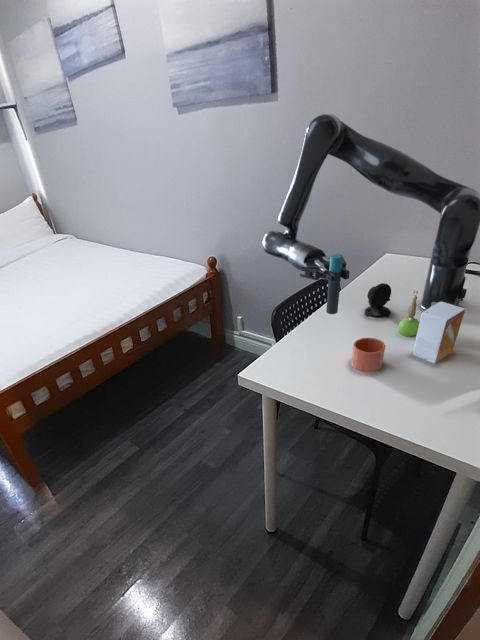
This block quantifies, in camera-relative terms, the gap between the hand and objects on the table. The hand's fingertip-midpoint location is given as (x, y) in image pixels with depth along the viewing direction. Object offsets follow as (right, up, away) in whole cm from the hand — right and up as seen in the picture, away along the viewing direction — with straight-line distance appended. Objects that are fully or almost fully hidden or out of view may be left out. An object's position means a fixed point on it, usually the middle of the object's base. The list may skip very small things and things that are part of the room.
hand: (341, 277), depth 104 cm
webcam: (+19, -6, +22) cm, 30 cm away
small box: (+24, -20, +2) cm, 32 cm away
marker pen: (+1, -7, +9) cm, 12 cm away
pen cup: (+7, -23, +2) cm, 24 cm away
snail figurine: (+23, -14, +11) cm, 28 cm away
